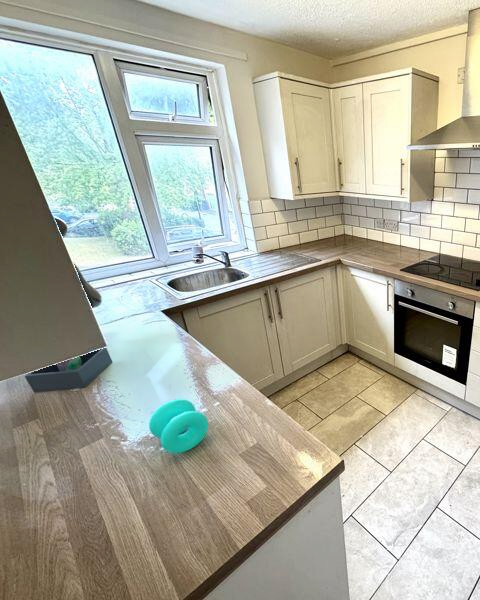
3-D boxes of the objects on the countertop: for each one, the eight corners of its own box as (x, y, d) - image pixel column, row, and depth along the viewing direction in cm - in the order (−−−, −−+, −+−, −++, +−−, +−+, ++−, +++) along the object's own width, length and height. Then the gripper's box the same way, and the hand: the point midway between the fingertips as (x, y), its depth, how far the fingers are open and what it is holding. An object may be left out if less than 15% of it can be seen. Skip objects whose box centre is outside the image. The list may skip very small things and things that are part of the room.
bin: (33, 392, 98) (24, 376, 96) (67, 366, 110) (59, 350, 108) (85, 387, 100) (77, 371, 98) (112, 362, 112) (106, 347, 110)
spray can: (61, 377, 101) (32, 319, 92) (60, 369, 104) (31, 313, 96) (85, 369, 104) (58, 313, 96) (83, 362, 108) (57, 307, 100)
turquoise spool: (170, 464, 76) (158, 432, 72) (154, 443, 81) (141, 412, 77) (214, 437, 83) (205, 406, 79) (196, 419, 89) (187, 390, 84)
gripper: (36, 312, 106) (14, 336, 92) (93, 303, 112) (80, 324, 99) (46, 332, 109) (26, 358, 96) (101, 322, 115) (90, 345, 102)
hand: (54, 341), depth 97 cm, fingers closed on spray can, 5 cm apart
